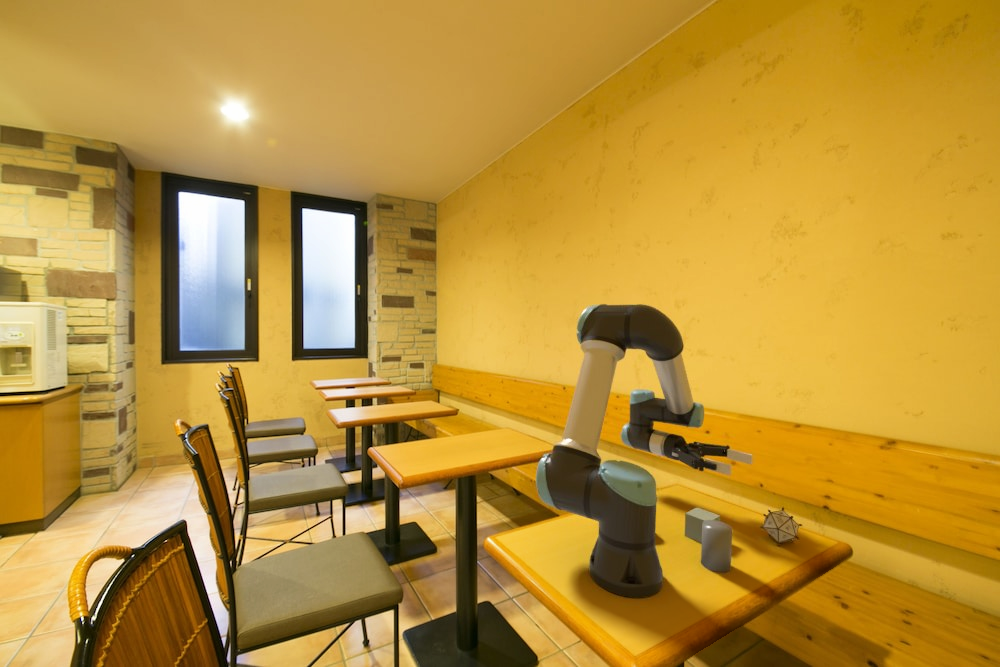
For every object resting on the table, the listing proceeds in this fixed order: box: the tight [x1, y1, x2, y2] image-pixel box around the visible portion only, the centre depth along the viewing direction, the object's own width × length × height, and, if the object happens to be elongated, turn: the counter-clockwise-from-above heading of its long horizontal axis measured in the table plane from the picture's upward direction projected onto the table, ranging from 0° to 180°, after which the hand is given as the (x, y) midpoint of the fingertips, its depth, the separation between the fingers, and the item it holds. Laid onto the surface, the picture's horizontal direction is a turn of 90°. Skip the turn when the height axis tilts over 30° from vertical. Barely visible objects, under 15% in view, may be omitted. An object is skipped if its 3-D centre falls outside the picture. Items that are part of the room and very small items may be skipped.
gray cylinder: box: [700, 520, 733, 574], centre depth 96 cm, size 6×6×9 cm
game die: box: [759, 506, 803, 547], centre depth 107 cm, size 9×8×10 cm
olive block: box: [684, 507, 721, 544], centre depth 108 cm, size 6×6×6 cm
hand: (741, 464), depth 114 cm, fingers open, 13 cm apart
